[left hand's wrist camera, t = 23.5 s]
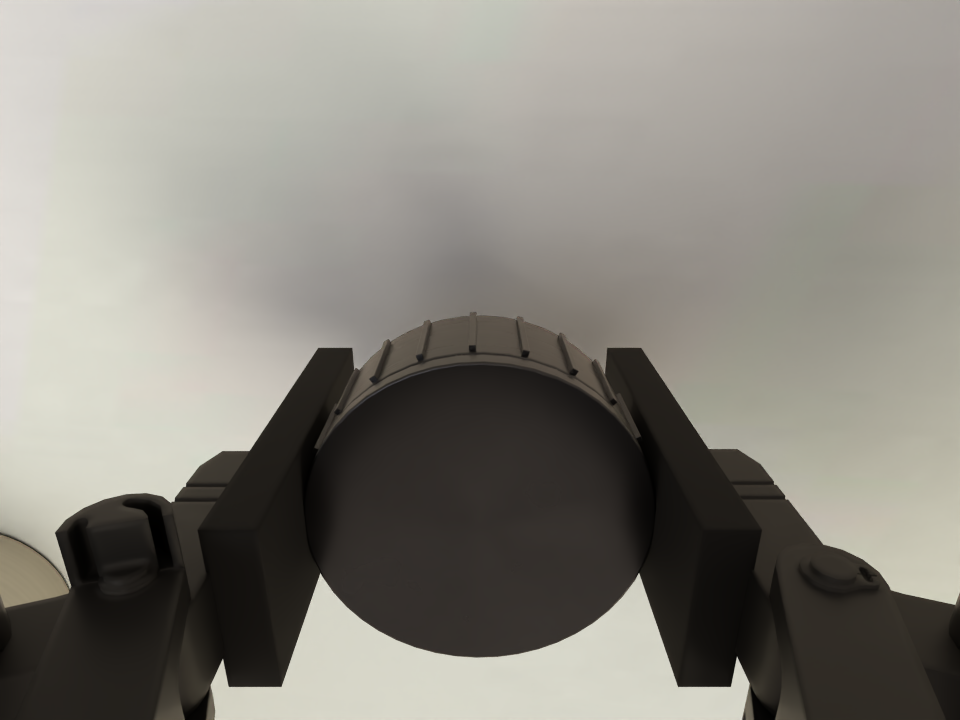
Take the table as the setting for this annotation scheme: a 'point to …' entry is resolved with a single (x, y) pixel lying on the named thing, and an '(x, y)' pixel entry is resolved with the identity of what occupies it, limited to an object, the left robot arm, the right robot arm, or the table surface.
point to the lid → (479, 490)
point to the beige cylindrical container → (26, 575)
